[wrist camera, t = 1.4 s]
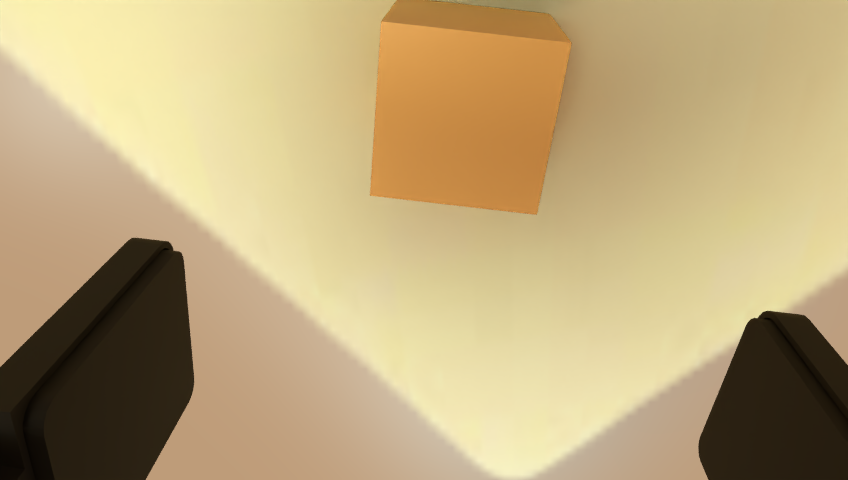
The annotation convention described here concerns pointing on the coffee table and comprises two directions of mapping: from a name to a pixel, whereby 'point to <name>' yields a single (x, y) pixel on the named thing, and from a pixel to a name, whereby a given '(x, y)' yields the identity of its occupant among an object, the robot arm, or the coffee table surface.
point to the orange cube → (466, 104)
